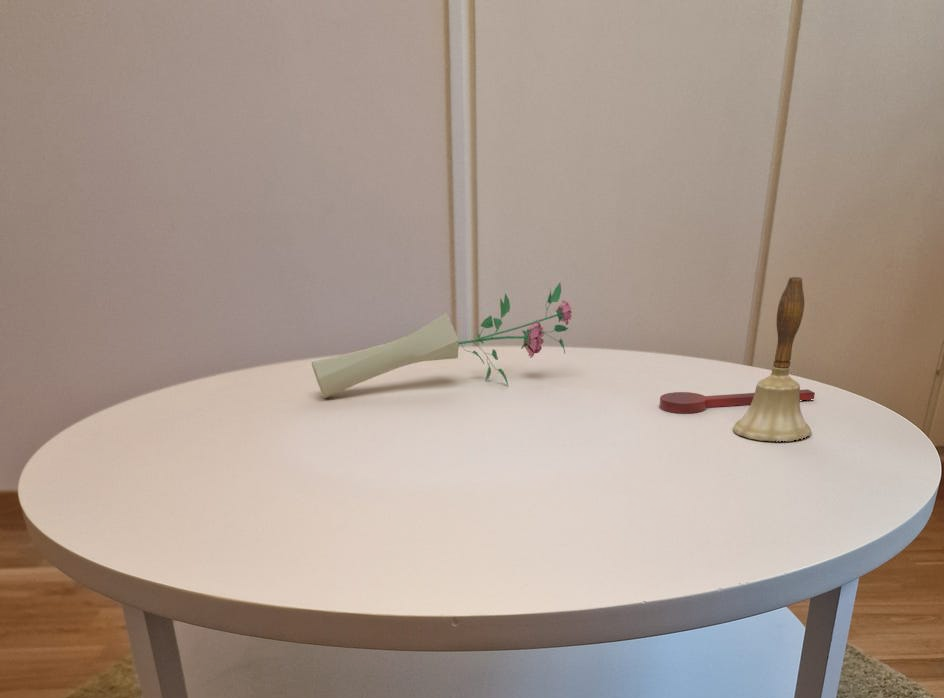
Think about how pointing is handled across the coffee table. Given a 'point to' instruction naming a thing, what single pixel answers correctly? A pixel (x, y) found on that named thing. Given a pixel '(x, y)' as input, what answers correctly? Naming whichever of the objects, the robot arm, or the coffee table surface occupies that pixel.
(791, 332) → the hand bell
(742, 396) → the spoon
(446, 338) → the flower vase
